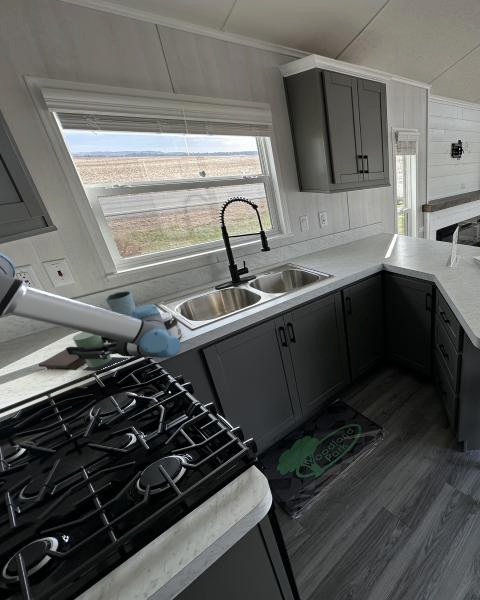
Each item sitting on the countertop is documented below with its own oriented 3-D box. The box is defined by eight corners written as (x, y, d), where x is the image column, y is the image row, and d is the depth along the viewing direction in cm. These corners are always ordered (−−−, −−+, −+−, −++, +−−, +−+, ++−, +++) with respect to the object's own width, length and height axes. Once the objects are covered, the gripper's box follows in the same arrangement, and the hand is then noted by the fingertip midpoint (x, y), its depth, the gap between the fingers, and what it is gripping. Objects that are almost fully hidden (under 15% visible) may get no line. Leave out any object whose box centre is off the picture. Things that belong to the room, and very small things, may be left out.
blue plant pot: (129, 311, 169) (119, 290, 164) (145, 312, 167) (136, 291, 162) (109, 321, 160) (99, 299, 155) (126, 322, 158) (116, 300, 153)
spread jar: (175, 345, 138) (165, 320, 133) (146, 348, 136) (135, 324, 131) (187, 330, 148) (179, 307, 143) (160, 333, 147) (151, 310, 142)
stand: (71, 374, 122) (66, 365, 120) (43, 373, 123) (38, 364, 121) (101, 355, 133) (96, 347, 131) (75, 354, 134) (70, 346, 132)
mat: (102, 379, 118) (102, 378, 118) (70, 378, 119) (70, 377, 119) (132, 358, 130) (132, 357, 129) (103, 357, 131) (102, 356, 131)
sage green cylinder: (99, 367, 120) (84, 340, 115) (82, 367, 120) (67, 339, 115) (116, 356, 126) (102, 329, 121) (100, 356, 127) (86, 329, 122)
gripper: (115, 371, 111) (55, 369, 113) (159, 339, 129) (107, 338, 131) (105, 353, 108) (44, 351, 110) (152, 323, 125) (99, 322, 128)
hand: (79, 344), depth 121 cm, fingers closed on sage green cylinder, 7 cm apart
